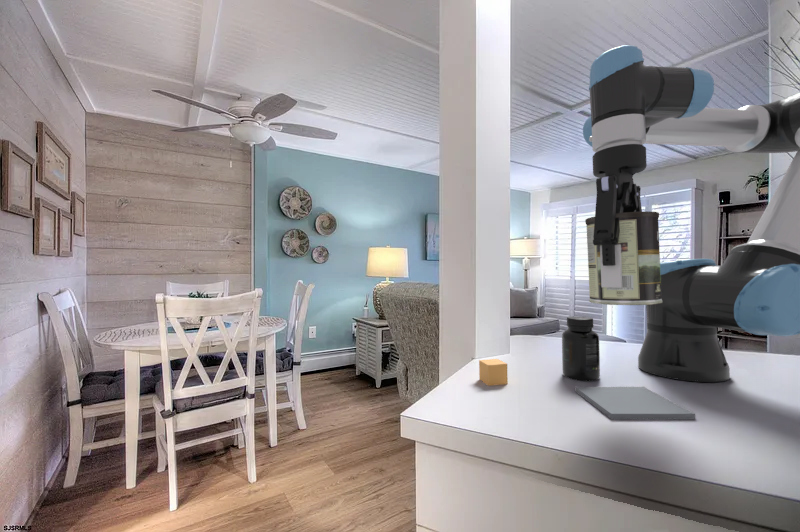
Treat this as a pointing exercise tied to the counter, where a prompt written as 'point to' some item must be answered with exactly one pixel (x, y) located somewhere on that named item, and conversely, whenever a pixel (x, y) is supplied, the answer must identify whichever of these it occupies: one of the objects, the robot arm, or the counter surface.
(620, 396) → the slate mat
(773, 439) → the counter surface
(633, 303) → the coffee can
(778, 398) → the counter surface
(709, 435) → the counter surface
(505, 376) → the orange cube
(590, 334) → the supplement bottle
